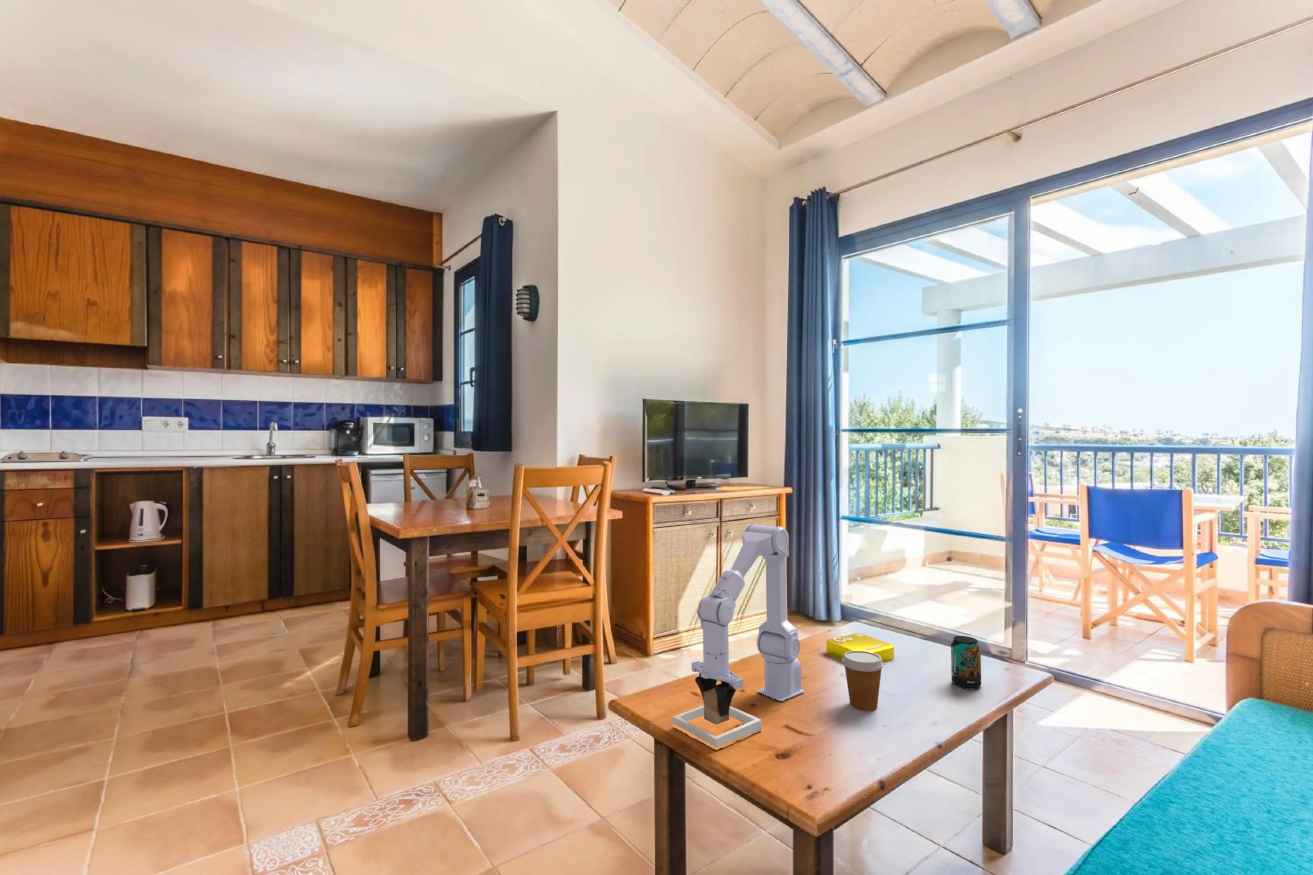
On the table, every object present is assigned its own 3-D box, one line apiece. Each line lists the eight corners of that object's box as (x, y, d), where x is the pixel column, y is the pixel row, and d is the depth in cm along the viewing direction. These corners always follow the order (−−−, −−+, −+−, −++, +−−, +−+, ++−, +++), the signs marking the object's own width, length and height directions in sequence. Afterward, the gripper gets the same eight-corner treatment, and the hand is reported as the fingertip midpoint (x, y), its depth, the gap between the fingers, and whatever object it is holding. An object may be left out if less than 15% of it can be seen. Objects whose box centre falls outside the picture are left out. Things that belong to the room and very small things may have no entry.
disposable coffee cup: (857, 716, 142) (857, 664, 142) (835, 700, 151) (834, 651, 151) (892, 711, 144) (891, 660, 145) (868, 695, 154) (867, 648, 154)
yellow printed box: (861, 669, 173) (861, 652, 173) (823, 654, 186) (823, 638, 186) (897, 660, 180) (897, 643, 180) (858, 645, 193) (858, 630, 193)
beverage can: (978, 692, 155) (977, 644, 155) (949, 685, 159) (948, 640, 159) (983, 683, 160) (982, 637, 161) (954, 677, 165) (953, 633, 165)
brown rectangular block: (716, 713, 139) (716, 687, 139) (729, 719, 136) (728, 692, 136) (703, 718, 136) (703, 691, 137) (716, 724, 133) (716, 697, 133)
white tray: (717, 710, 146) (717, 699, 146) (761, 731, 135) (761, 719, 135) (673, 727, 137) (672, 716, 137) (716, 751, 126) (716, 739, 126)
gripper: (681, 646, 140) (682, 705, 139) (726, 663, 128) (727, 728, 128) (703, 640, 144) (704, 697, 144) (749, 656, 133) (750, 718, 132)
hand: (716, 711), depth 136 cm, fingers closed on brown rectangular block, 4 cm apart
